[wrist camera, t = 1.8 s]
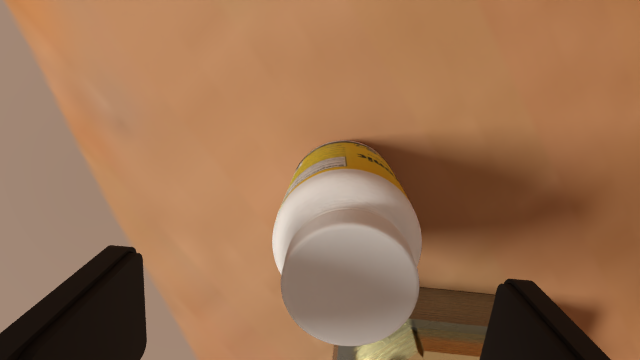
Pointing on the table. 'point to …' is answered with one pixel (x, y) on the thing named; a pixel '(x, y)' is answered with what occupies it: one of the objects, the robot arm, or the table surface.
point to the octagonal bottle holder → (433, 330)
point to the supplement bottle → (347, 246)
